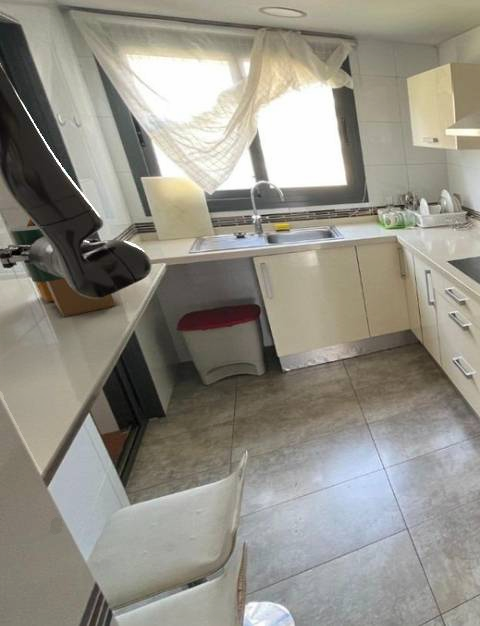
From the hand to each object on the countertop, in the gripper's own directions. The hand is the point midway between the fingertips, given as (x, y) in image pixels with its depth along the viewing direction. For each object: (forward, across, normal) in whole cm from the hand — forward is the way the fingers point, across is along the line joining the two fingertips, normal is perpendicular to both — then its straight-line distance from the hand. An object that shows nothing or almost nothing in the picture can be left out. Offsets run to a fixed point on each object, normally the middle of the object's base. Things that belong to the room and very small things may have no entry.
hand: (34, 247), depth 90 cm
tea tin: (-3, 0, +6) cm, 7 cm away
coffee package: (+30, -9, +18) cm, 36 cm away
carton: (+16, -8, +18) cm, 25 cm away
